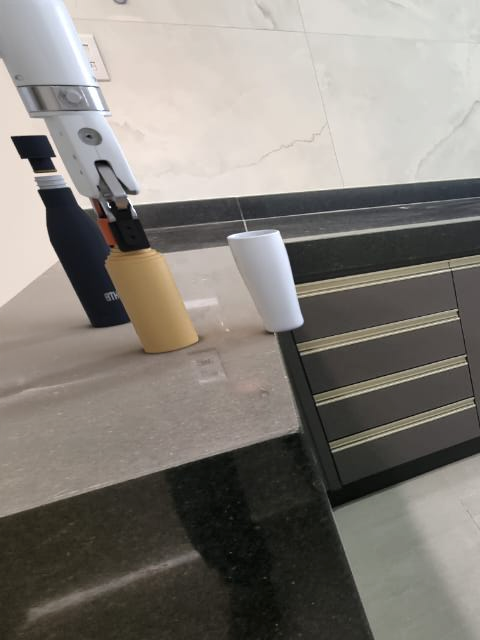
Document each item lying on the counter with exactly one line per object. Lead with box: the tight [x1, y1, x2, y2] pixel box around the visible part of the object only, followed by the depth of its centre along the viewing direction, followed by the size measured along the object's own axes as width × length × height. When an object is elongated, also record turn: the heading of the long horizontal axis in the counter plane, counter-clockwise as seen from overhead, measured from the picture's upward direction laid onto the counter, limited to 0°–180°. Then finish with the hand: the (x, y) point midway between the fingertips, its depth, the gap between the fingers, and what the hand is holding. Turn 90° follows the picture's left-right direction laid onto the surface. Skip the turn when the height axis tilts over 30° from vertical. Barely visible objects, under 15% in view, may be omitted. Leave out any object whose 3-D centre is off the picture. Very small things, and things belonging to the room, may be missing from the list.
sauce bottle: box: [105, 245, 199, 354], centre depth 76 cm, size 6×6×18 cm
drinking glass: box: [226, 229, 305, 334], centre depth 81 cm, size 7×7×15 cm
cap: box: [96, 218, 117, 245], centre depth 73 cm, size 4×4×3 cm
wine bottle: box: [10, 134, 131, 328], centre depth 86 cm, size 6×6×30 cm
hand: (130, 247), depth 74 cm, fingers open, 4 cm apart
